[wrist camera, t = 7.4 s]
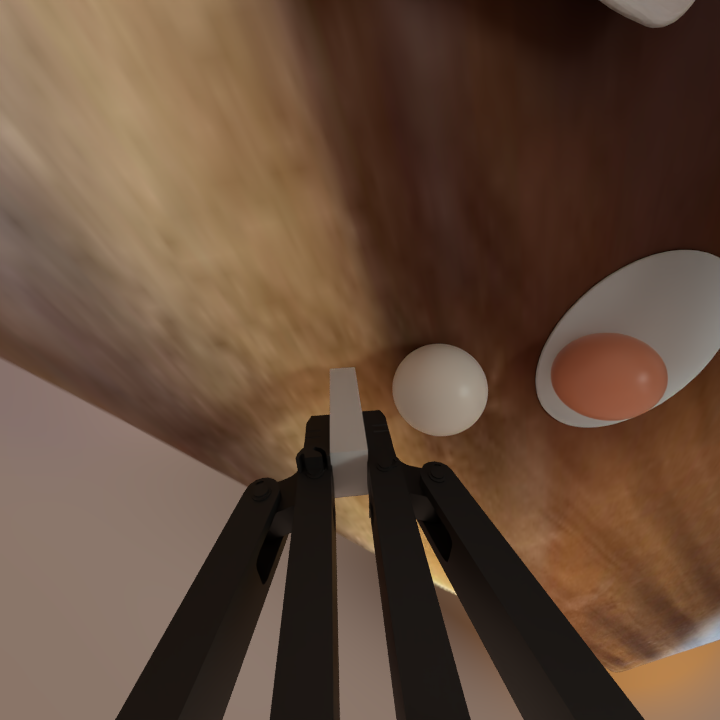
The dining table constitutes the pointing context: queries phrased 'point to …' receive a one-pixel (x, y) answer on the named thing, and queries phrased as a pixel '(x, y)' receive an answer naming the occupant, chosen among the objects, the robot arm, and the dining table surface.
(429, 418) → the ivory ball
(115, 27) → the dining table surface
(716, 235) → the dining table surface
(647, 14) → the salad plate
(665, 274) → the oval plate
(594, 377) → the coral ball
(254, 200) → the dining table surface
